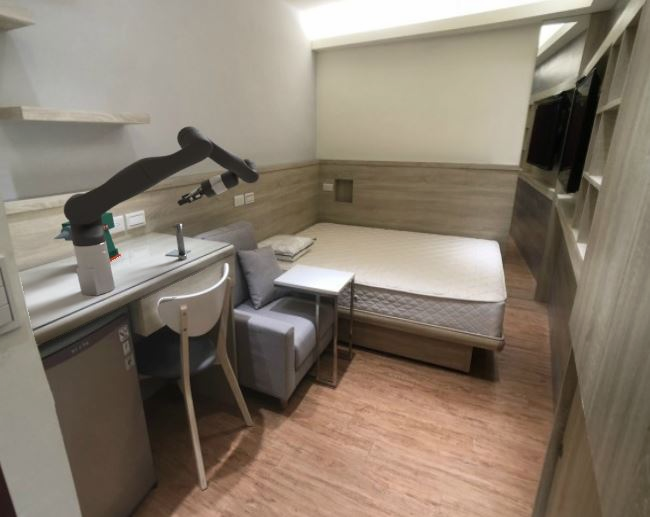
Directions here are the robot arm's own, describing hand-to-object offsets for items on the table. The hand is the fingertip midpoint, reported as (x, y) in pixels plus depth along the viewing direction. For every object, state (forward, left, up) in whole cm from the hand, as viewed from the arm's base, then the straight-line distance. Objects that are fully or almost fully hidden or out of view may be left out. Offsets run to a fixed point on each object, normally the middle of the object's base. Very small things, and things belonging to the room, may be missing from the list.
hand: (180, 201), depth 151 cm
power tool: (-22, +29, -25) cm, 45 cm away
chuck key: (-5, -1, -25) cm, 25 cm away
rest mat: (+2, +5, -25) cm, 26 cm away
